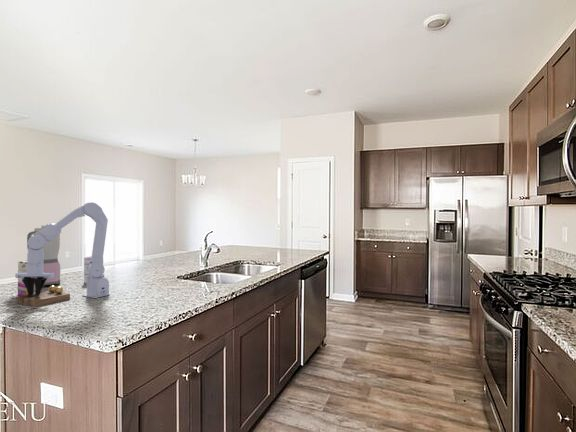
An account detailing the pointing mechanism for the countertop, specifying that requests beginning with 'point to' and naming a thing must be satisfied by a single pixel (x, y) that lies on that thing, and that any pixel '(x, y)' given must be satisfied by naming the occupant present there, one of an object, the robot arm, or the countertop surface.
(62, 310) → the countertop surface
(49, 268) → the blender
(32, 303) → the brown square tray
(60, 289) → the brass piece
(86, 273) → the syrup box
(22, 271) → the candy bar box
